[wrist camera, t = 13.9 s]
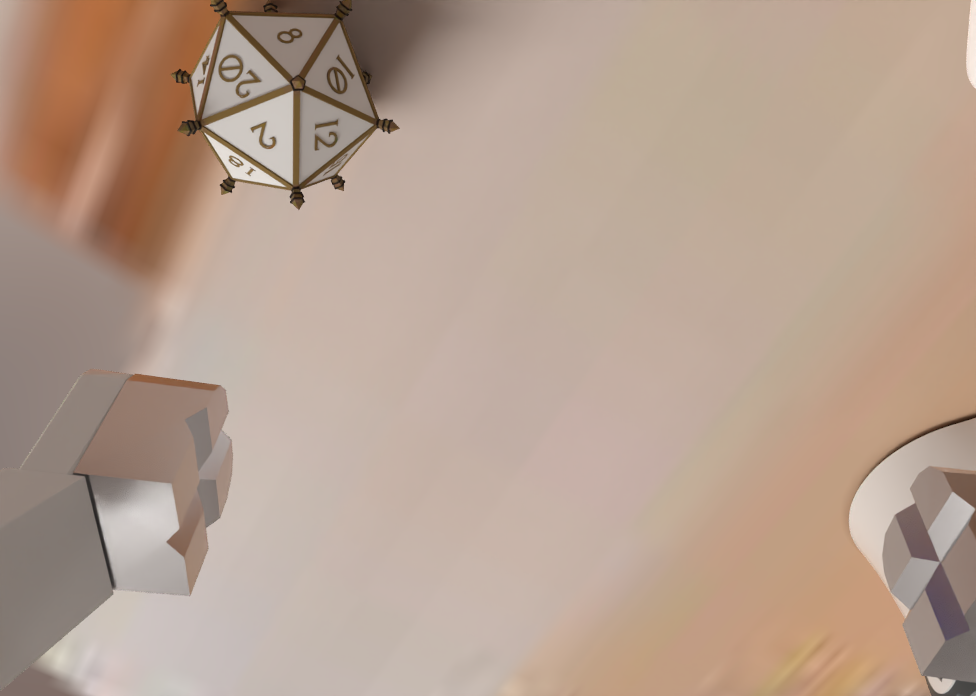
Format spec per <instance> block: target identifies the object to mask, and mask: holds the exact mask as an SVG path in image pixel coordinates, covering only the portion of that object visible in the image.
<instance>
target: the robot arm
mask: <svg viewBox="0 0 976 696" xmlns="http://www.w3.org/2000/svg"><path fill="white" fill-rule="evenodd" d="M228 412H229V410H228V403H227V396H226V390H225V389H224V388H223V387H222V386H220V385H214V384H206V383H199V382H192V381H184V380H177V379H170V378H163V377H155V376H148V375H141V374H135V375H132V374H126V373H119V372H112V371H105V370H97V369H90V370H88V371H87V372H85V373H83V374H82V375H81V376H80V377H79V378H78V380H77V381H76V383H75V384H74V386H73V387H72V389H71V390H70V392H69V393H68V395H67V396H66V398H65V399H64V401H63V403H62V404H61V405H60V407H59V409H58V410H57V412H56V413H55V415H54V416H53V418H52V420H51V421H50V422H49V424H48V425H47V427H46V428H45V430H44V431H43V433H42V435H41V436H40V438H39V439H38V441H37V442H36V444H35V445H34V447H33V448H32V450H31V451H30V453H29V454H28V456H27V458H26V459H25V461H24V462H23V464H22V465H21V467H20V469H15V468H4V469H2V470H0V691H1V690H2V689H3V688H5V687H6V686H7V685H8V684H9V683H11V682H12V681H13V680H14V679H15V678H16V677H18V676H19V675H20V674H21V673H22V672H23V671H25V669H27V668H28V667H29V666H30V665H32V664H33V663H34V662H35V661H36V660H37V659H39V658H40V657H41V656H42V655H43V654H44V653H45V652H47V651H48V650H49V649H50V648H51V647H52V646H54V645H55V644H56V643H57V642H58V641H59V640H61V639H62V638H63V637H64V636H65V635H66V634H68V633H69V632H70V631H71V630H72V629H73V628H75V627H76V626H77V625H78V624H79V623H80V622H82V621H83V620H84V619H85V618H86V617H87V616H89V615H90V614H91V613H92V612H93V611H94V610H96V609H97V608H98V607H99V606H100V605H101V604H103V603H104V602H105V601H106V600H107V599H108V598H110V597H111V596H112V595H113V590H123V591H135V592H148V593H160V594H172V595H184V596H190V595H191V592H192V590H193V587H194V585H195V582H196V579H197V577H198V574H199V572H200V569H201V566H202V564H203V561H204V559H205V556H206V554H207V551H208V541H207V533H206V528H207V527H208V526H209V525H211V524H212V523H214V522H215V521H216V520H218V519H219V518H220V517H221V514H222V511H223V508H224V505H225V503H226V500H227V496H228V491H229V486H230V481H231V476H232V462H233V452H232V440H231V439H230V438H229V437H228V436H227V435H226V433H225V432H224V431H223V430H222V427H223V424H224V422H225V419H226V417H227V415H228ZM849 528H850V533H851V536H852V539H853V541H854V543H855V545H856V546H857V548H858V549H859V550H860V551H861V553H862V554H863V555H864V556H865V558H866V559H867V560H868V561H869V563H870V564H871V565H872V567H873V568H874V569H875V571H876V572H877V573H878V575H879V576H880V578H881V579H882V581H883V582H884V584H885V585H886V587H887V589H888V590H889V592H890V593H891V595H892V597H893V598H894V600H895V602H896V603H897V605H898V607H899V609H900V610H901V612H902V614H903V616H904V618H905V621H904V623H903V627H904V630H905V633H906V635H907V638H908V641H909V644H910V646H911V649H912V652H913V654H914V657H915V660H916V662H917V665H918V668H919V670H920V673H921V675H922V676H925V678H926V682H927V685H928V688H929V690H930V693H931V695H932V696H976V418H974V419H971V420H967V421H964V422H961V423H957V424H954V425H951V426H947V427H944V428H942V429H939V430H936V431H934V432H931V433H929V434H927V435H924V436H922V437H920V438H918V439H916V440H914V441H912V442H910V443H909V444H907V445H905V446H903V447H902V448H900V449H899V450H897V451H896V452H894V453H893V454H891V455H890V456H889V457H887V458H886V459H885V460H884V461H883V462H881V463H880V464H879V465H878V466H877V467H876V468H875V469H874V470H873V471H872V472H871V473H870V474H869V475H868V477H867V478H866V479H865V480H864V482H863V483H862V484H861V486H860V487H859V489H858V491H857V493H856V495H855V497H854V499H853V502H852V505H851V508H850V513H849Z"/></svg>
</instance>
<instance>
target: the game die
mask: <svg viewBox="0 0 976 696" xmlns="http://www.w3.org/2000/svg"><path fill="white" fill-rule="evenodd" d="M210 6H211V7H212V6H213V8H214V9H215V10H214V11H215V12H218V13H219V14H220V15H221V18H220V20H219V22H218V24H217V26H216V28H215V30H214V32H213V34H212V35H211V37H210V39H209V41H208V43H207V45H206V47H205V49H204V51H203V53H202V54H201V56H200V58H199V60H198V62H197V64H196V66H195V68H194V70H193V71H192V73H191V74H188V73H187V72H186V71H181V69H179V70H178V71H177V72H174V73H172V74H171V76H172V77H173V78H174V79H175V80H176V82H177V83H180V82H181V83H182V84H184V83H187V82H188V83H190V89H191V95H192V101H193V107H194V114H195V120H196V121H192V120H187V122H185V121H182V125H181V126H180V128H179V129H178V131H179V132H182V133H184V134H186V135H187V136H190V134H195V132H196V131H197V130H199V131H200V132H201V134H202V136H203V137H204V139H205V140H206V142H207V143H208V145H209V146H210V148H211V149H212V151H213V153H214V154H215V156H216V157H217V159H218V160H219V162H220V163H221V165H222V166H223V168H224V170H225V171H226V173H227V174H228V178H227V179H225V180H223V183H222V184H220V186H221V195H223V194H226V193H229V192H231V193H232V189H233V188H235V186H234V184H235V182H236V181H239V182H245V183H250V184H256V185H262V186H268V187H274V188H279V189H285V190H291V191H292V194H291V195H290V198H291V201H290V203H292V204H293V205H294V206H295V207H296V208H297V209H298V210H299V209H300V207H301V206H302V204H303V203H304V202H305V201H304V199H303V197H304V196H303V194H302V192H300V191H301V189H304V188H306V187H309V186H312V185H314V184H317V183H320V182H322V181H325V180H328V179H332V180H331V182H332V185H334V188H335V189H339V190H342V191H344V183H345V180H342V177H340V176H338V175H337V174H338V173H339V171H340V170H341V169H342V168H343V167H344V166H345V164H346V163H347V162H348V161H349V160H350V159H351V158H352V156H353V155H354V154H355V153H356V152H357V151H358V149H359V148H360V147H361V146H362V145H363V144H364V142H365V141H366V140H367V139H368V138H369V137H370V136H371V134H372V133H373V132H374V131H375V130H376V129H377V128H380V129H382V130H383V132H385V131H387V132H388V133H389V134H390V132H392V131H395V130H397V129H400V128H399V127H398V126H397V125H396V124H395V123H394V122H393V120H387V119H384V120H380V119H379V117H378V115H377V112H376V109H375V106H374V104H373V101H372V98H371V96H370V93H369V90H368V88H367V85H366V84H370V79H371V77H372V76H371V75H370V74H368V73H367V72H366V71H364V72H363V73H362V72H361V69H360V66H359V64H358V61H357V58H356V56H355V53H354V50H353V48H352V45H351V42H350V40H349V37H348V34H347V32H346V29H345V26H344V24H343V21H342V20H343V18H344V17H345V16H348V15H349V14H348V13H349V12H350V11H352V9H351V0H344V1H340V4H339V6H337V11H336V13H335V14H306V13H277V10H276V9H277V6H276V5H274V4H273V3H272V2H271V1H268V2H267V4H266V5H264V6H263V7H264V9H265V10H264V11H265V12H240V11H228V10H227V8H226V7H227V5H226V2H224V0H211V5H210Z"/></svg>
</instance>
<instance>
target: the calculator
mask: <svg viewBox="0 0 976 696" xmlns="http://www.w3.org/2000/svg"><path fill="white" fill-rule="evenodd" d="M966 66H967V74H968V78H969V80H970V82H971V83H972V85H973V87H975V88H976V0H971V7H970V19H969V30H968V42H967V61H966Z"/></svg>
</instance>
